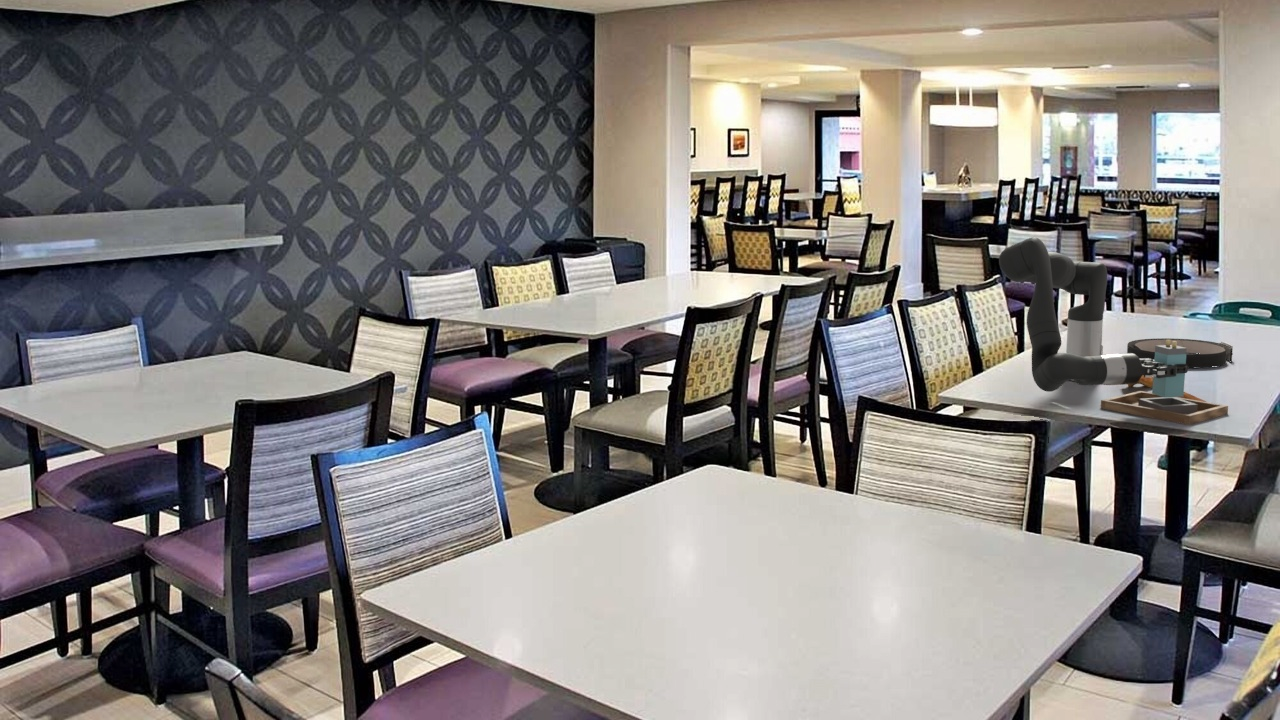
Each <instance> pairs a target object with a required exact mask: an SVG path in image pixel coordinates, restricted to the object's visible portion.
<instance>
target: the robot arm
mask: <svg viewBox="0 0 1280 720" xmlns="http://www.w3.org/2000/svg"><path fill="white" fill-rule="evenodd" d="M998 265H999V268H1000V270H1001V272H1002V273H1003V275H1004V276H1005V277H1006V278H1008V279H1009V280H1011V281H1012V282H1014V283H1015V282H1016V283H1031V284H1032V283H1033V284H1035V287H1034V292H1033V294H1032V299H1031V301H1030V304H1029V307H1028V310H1027V314H1026V328H1027V332H1028V336H1029V341H1030V344H1031V373H1032V374H1031V375H1032V378H1033V380H1034V383H1035V385H1036V386H1037V387H1038V388H1039V389H1040V390H1041V391H1044V392H1047V393H1049V392H1055V391H1057V390H1058V389H1059V388H1061V386H1063V384H1066V382H1067V381H1073V382H1075V383H1076V384H1078V385H1079V386H1099V385H1100V386H1101V385H1102V386H1121V385H1122V386H1124V385H1128V384H1135V383H1137V382H1138V381H1139V380H1140V378H1141V377H1142V375H1143V377H1156V378H1165V377H1175V376H1176V374H1179V373H1185V374H1187V373H1188V371H1189V368H1188V365H1187V364H1164V363H1163V362H1155V361H1154V360H1153V359H1150V358H1142V359H1139V357H1138V356H1137V355H1135V354H1133V353H1127V352H1126V353H1111V354H1110V353H1109V354H1103V353H1104V352H1103V350H1104V346H1103V345H1102V344H1103V326H1104V325H1103V324H1104V323H1103V322H1104V311H1105V304H1106V303H1105V302H1106V296H1107V295H1106V294H1107V293H1106V291H1107V285H1108V270H1107V266H1106V265H1105V264H1104V263H1103V262H1096V261H1095V262H1094V261H1093V262H1091V261H1073V260H1072V259H1071V258H1070V257H1069V256H1068V255H1065V254H1063V253H1059V252H1056V251H1048V249H1047V247H1046V245H1045V243H1044V242H1043V241H1042V240H1041V239H1040V238H1039V237H1036V236H1031V237H1029V238H1027V239H1024V240H1021V241H1019V242H1017V243H1015V244H1012V245H1010V246H1008V247H1006V248H1004V249H1003V250H1002V251H1001V253H1000V254H999V256H998ZM1053 289H1060V290H1061V289H1062V290H1063V291H1065V292H1067V293H1068V294H1072V295H1082V296H1088V299H1087V301H1086V302H1085V303H1083V304H1080V305H1077V306H1073V307H1070V308H1069V309H1068V312H1067V326H1066V329H1067V330H1066V349H1065V350H1066V351H1065V352H1059V351H1060V348H1061V347H1062V336H1061V333H1060V329H1059V324H1058V320H1057V315H1056V310H1055V303H1054V290H1053ZM1158 365H1160V367H1158Z"/></svg>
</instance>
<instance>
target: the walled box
mask: <svg viewBox="0 0 1280 720" xmlns="http://www.w3.org/2000/svg"><path fill="white" fill-rule="evenodd" d="M1158 397H1161V396H1158V395H1155V394H1152V392H1148V391H1143V390H1137V391H1134V392H1129V393H1127V394H1126V393H1125V394H1122V395H1117V396H1112V397H1108V398H1105V399H1101V400H1100V409H1102V410H1107V411H1114V412H1118V413H1123V414H1130V415H1135V416H1139V417H1140V416H1141V417H1146V418H1150V419H1156V420H1162V421H1166V422H1173V423H1178V424H1183V425H1188V426H1190V425H1193V424H1197V423H1201V422H1204V421H1207V420H1211V419H1215V418H1218V417H1223V416H1225V415H1228V414H1229V413H1228V412H1229V405H1226V404H1221V403H1216V402H1215V403H1213V402H1208V401H1206V402H1203V401H1197V400H1191V399H1185V398H1179V397H1176V398H1179V399H1182V400H1185V401H1188V402H1192V403H1195V404H1198V409H1197V412H1195V413H1192V414H1188V415H1187V414H1181V413H1176V412H1170V411H1164V410H1159V409H1153V408H1148V407H1142V406H1138V402H1139V399H1142V398H1158Z"/></svg>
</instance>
